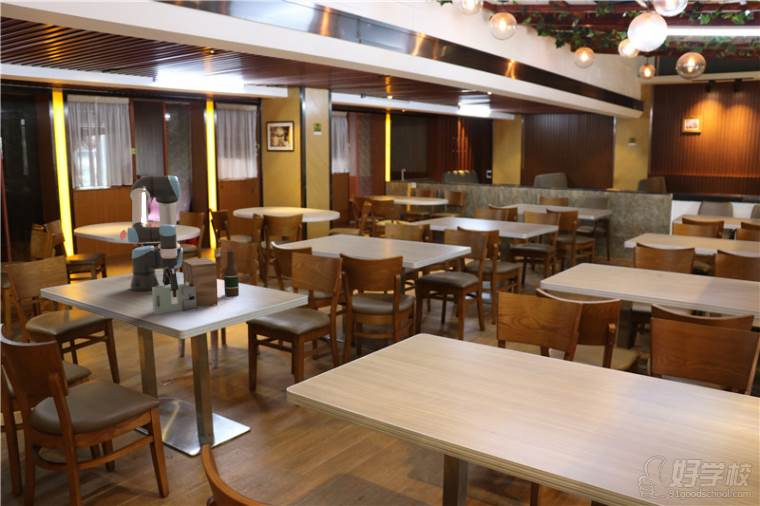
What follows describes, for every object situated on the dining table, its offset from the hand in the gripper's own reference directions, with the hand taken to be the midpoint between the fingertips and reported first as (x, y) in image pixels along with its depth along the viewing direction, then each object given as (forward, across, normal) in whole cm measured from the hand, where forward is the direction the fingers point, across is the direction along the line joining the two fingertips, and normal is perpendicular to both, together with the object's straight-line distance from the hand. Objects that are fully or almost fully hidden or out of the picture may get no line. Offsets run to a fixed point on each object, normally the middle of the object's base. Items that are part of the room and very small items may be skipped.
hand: (171, 300), depth 310 cm
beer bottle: (+5, -17, +36) cm, 40 cm away
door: (+5, 0, 0) cm, 5 cm away
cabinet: (+5, -9, +17) cm, 20 cm away
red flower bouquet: (+5, -92, +8) cm, 92 cm away
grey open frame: (+5, 0, +8) cm, 9 cm away
